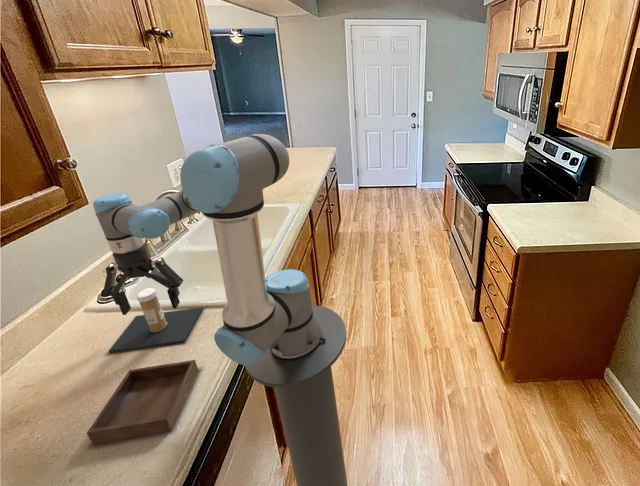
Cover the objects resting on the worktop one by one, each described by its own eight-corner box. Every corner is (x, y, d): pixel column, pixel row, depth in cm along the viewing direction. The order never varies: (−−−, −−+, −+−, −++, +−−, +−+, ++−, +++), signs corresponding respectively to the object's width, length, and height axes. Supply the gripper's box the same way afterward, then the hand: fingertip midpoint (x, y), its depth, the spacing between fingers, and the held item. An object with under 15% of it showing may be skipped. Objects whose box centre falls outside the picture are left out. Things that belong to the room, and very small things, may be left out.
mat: (203, 309, 110) (202, 307, 109) (185, 342, 97) (184, 340, 97) (137, 317, 107) (136, 315, 106) (109, 353, 94) (108, 350, 94)
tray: (198, 370, 88) (195, 359, 86) (171, 430, 73) (166, 419, 72) (134, 380, 85) (129, 369, 84) (93, 445, 71) (86, 433, 70)
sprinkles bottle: (171, 323, 103) (158, 288, 98) (157, 334, 99) (143, 298, 94) (160, 320, 104) (147, 285, 99) (146, 331, 100) (132, 295, 95)
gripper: (67, 260, 86) (97, 323, 93) (171, 249, 90) (191, 311, 97) (88, 245, 93) (113, 305, 100) (183, 236, 96) (201, 294, 104)
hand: (152, 308), depth 99 cm, fingers open, 13 cm apart
